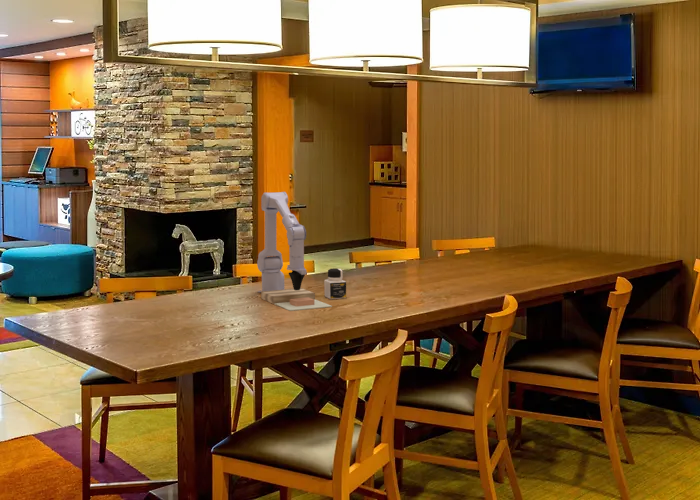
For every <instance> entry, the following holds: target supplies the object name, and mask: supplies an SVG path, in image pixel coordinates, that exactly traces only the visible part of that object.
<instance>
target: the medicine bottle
mask: <svg viewBox="0 0 700 500" xmlns="http://www.w3.org/2000/svg"><path fill="white" fill-rule="evenodd" d="M323 283H324V298H326V299H329V300H337V299H338V300H339V299H346V298H347V281H346V280H343V270H342V269H341V268H334V267H333V268H330V269H328V270H327V279H324V282H323Z"/></svg>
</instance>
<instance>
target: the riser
mask: <svg viewBox="0 0 700 500" xmlns="http://www.w3.org/2000/svg"><path fill="white" fill-rule="evenodd" d="M260 291H261V290H260ZM306 297H309V298H311V299H314V300H316V292H313V291H310V290H308V289H304V288H302V287H301V288H300V290H294V288H284V289H283V290H272V291H261V293H260V299H261V300H263V301H266V302H268V303H271V304H273V305H275V304H274V303H283V302H290V299H295V298H306Z"/></svg>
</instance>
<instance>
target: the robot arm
mask: <svg viewBox="0 0 700 500" xmlns="http://www.w3.org/2000/svg"><path fill="white" fill-rule="evenodd" d="M260 200H261V201H260V202H261V206H260V208H261V211H264V249H263V250H262V251H259V253H258V255H257V257H258V258H257V261H256V262H257V263H256V265H257V269H258V271H259V272H261V289H260V290H258V291H257V292H258V293H260V294H261V291H272V290H283V289H285V275H284V273H283V272H282V271H281V270H282V269H283V266H284V261H283V255H282V254H283V253H281V252H280V251H279V250H277V214H278V213H279V214H280V216H281V217H282V220H281V222H282V225H283V227H284V228H285V230H286V237H287V244H288V247H289V264H287V266H286V270H287V271H291V272H288V276H289V277H290V280H291V283H292V289H294V290H300V288H302V283H303V280H304V277H305V275H307V269H306V268H305V244H304V243H305V240H306V239H307V230H306V228H305V225H302V224H300V222H299V221H298V219H297V217H296V215H295V214H294V213H292V212H291V211H290V210H291V209H290V208H289V206H288V203H289V196H288V194H287V192H286V191H281V192H280V191H279V192H267V191H266V192H263V194H262V195H261V199H260Z"/></svg>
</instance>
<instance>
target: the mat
mask: <svg viewBox="0 0 700 500" xmlns="http://www.w3.org/2000/svg"><path fill="white" fill-rule="evenodd" d="M273 305H275V306H278V307H280V308H282V309H285V310H286V311H289V312H296V311H303V310H313V309H316V310H317V309H323V308H332V307H333V305H330V304H328V303H326V302H324V301H323V302H322V301H320V300H318V299H315V300H314V305H306V306H294V305H291V304H290V302H283V303H274V304H273Z"/></svg>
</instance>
